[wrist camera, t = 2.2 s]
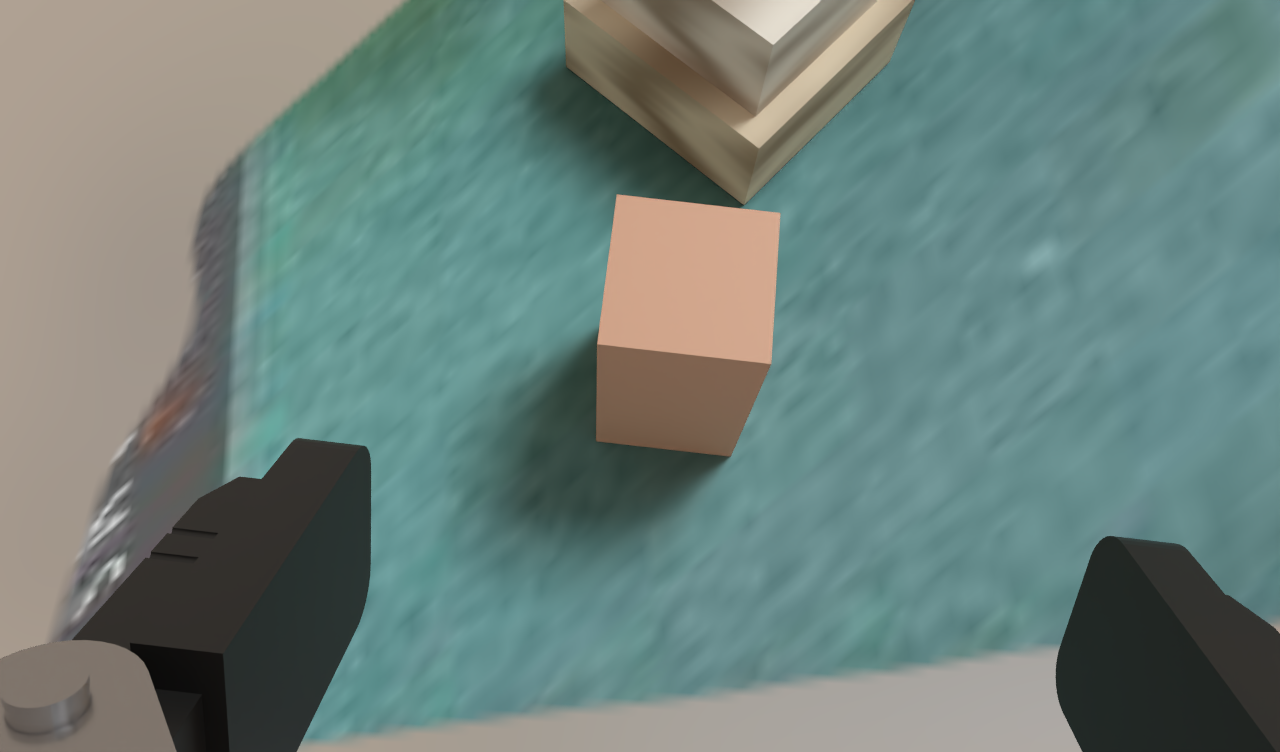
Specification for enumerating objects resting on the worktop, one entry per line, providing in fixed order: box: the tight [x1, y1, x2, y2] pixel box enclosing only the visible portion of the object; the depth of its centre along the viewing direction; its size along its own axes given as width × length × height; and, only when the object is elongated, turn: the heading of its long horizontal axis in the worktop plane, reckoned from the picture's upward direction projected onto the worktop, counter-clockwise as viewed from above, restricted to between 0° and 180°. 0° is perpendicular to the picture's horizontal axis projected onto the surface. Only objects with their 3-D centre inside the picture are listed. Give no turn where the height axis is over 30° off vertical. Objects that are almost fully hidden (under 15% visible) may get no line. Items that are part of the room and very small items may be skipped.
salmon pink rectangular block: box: [596, 194, 780, 457], centre depth 34 cm, size 5×5×9 cm
